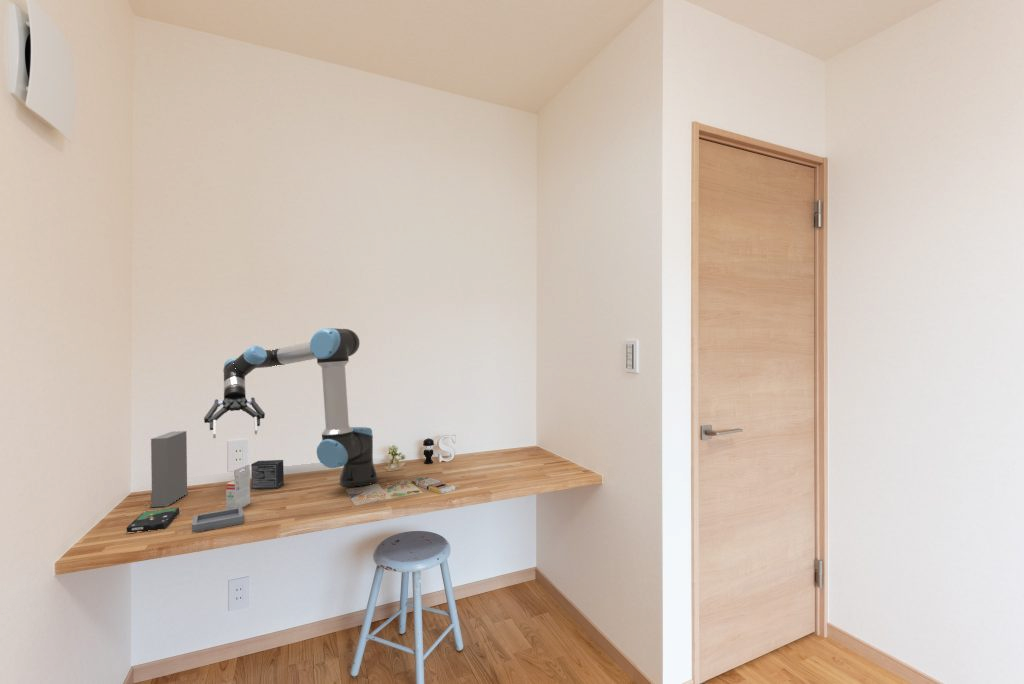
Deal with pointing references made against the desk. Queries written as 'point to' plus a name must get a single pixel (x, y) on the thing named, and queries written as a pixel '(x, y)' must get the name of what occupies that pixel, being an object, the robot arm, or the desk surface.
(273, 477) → the small box
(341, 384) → the robot arm
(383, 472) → the desk surface
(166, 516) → the disk drive
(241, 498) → the ink box
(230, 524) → the holder
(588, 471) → the desk surface
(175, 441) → the dark grey slab
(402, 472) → the desk surface
